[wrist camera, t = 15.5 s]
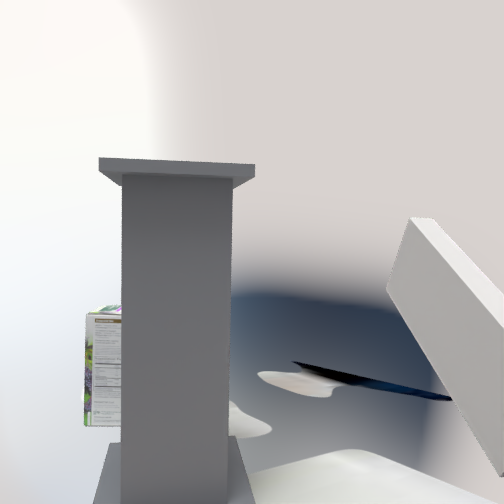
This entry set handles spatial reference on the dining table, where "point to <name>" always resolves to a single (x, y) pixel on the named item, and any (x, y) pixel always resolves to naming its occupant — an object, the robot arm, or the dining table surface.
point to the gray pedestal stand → (175, 336)
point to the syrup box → (103, 367)
